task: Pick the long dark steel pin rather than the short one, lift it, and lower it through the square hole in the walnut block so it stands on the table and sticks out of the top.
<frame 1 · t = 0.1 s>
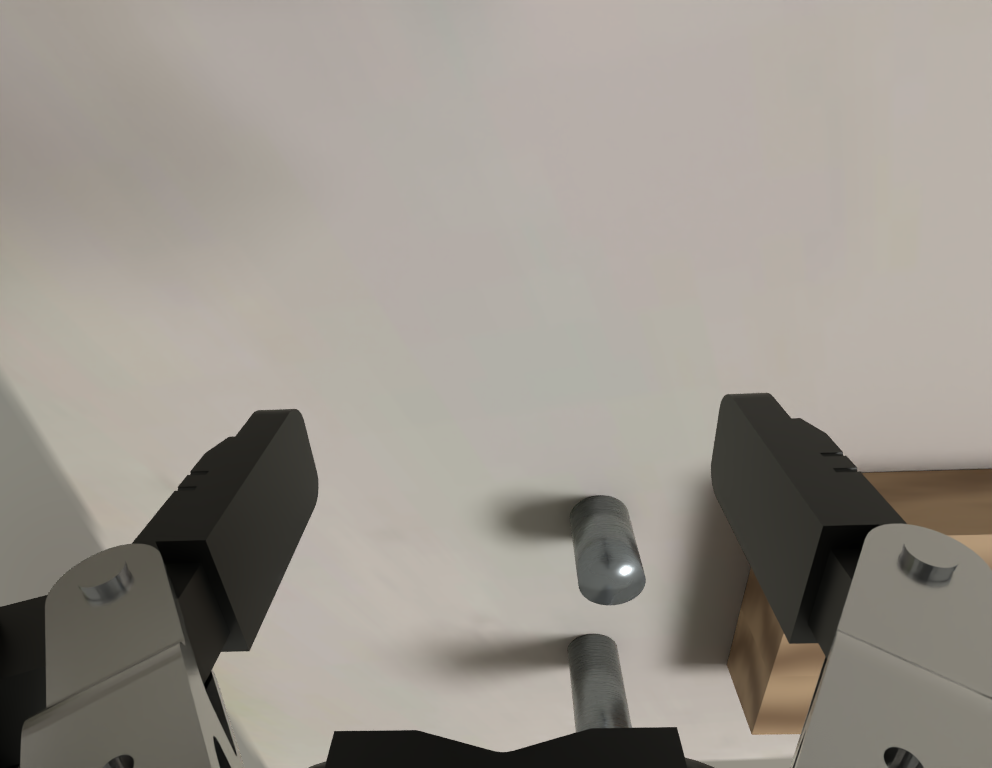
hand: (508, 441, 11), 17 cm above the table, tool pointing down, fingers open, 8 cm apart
long pin: (592, 649, 42), on the table
short pin: (599, 517, 35), on the table
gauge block: (886, 578, 37), on the table
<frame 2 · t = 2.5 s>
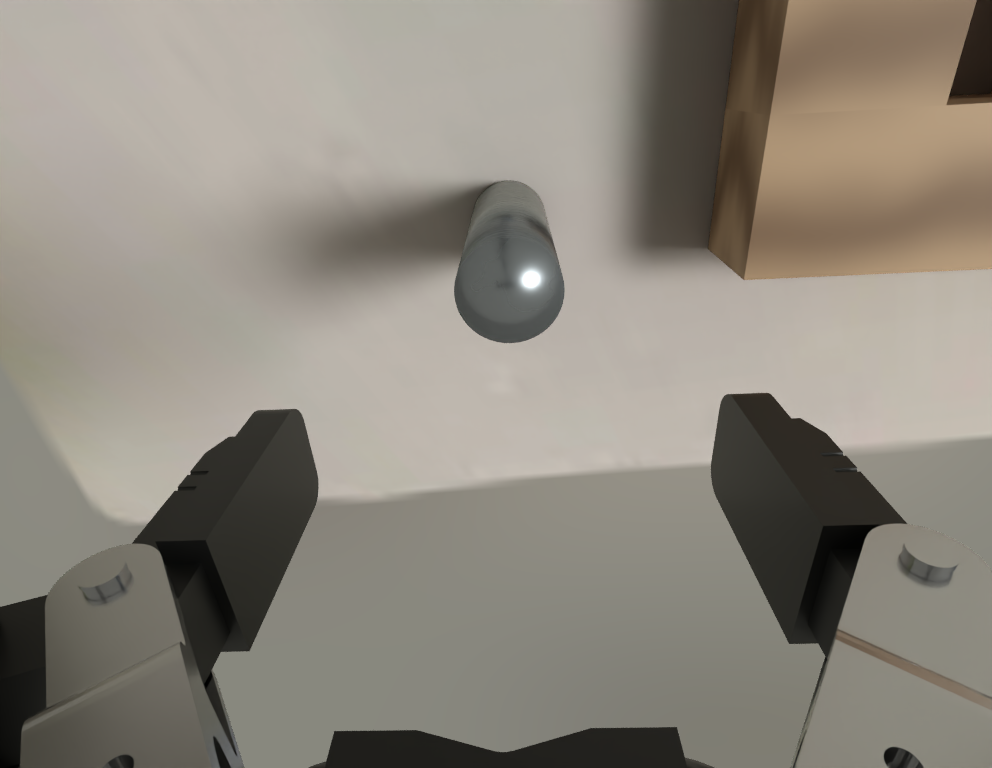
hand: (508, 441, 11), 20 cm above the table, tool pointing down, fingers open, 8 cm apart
long pin: (509, 218, 28), on the table
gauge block: (949, 28, 24), on the table
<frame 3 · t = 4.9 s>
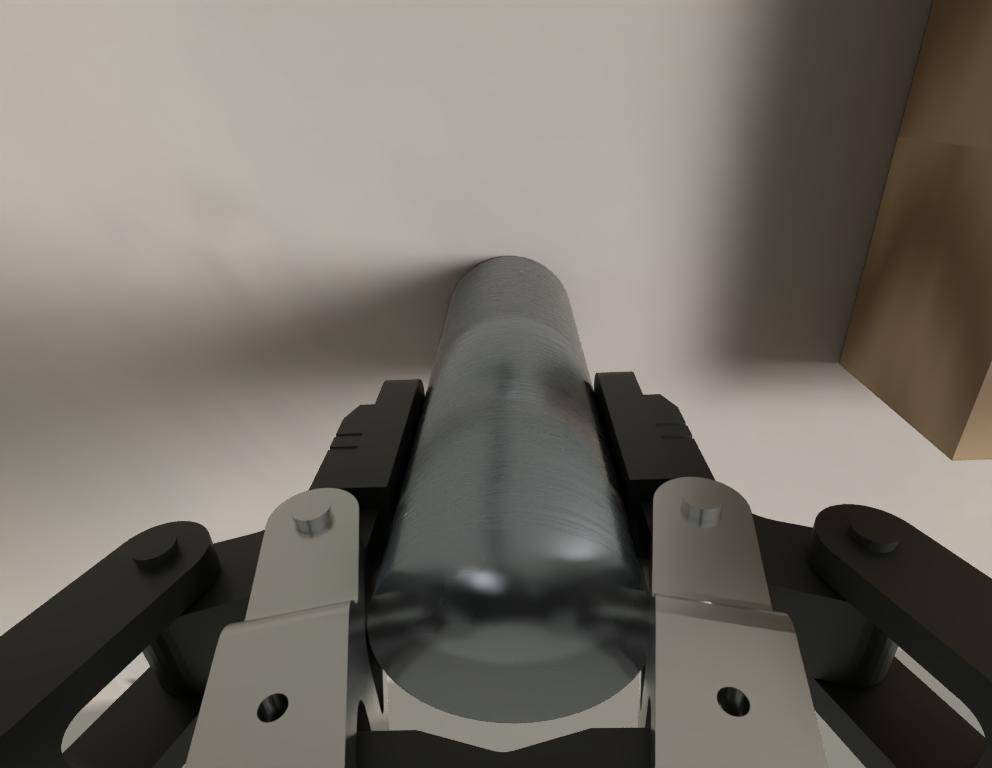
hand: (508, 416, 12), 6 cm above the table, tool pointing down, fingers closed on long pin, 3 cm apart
long pin: (509, 315, 17), on the table, touching gripper
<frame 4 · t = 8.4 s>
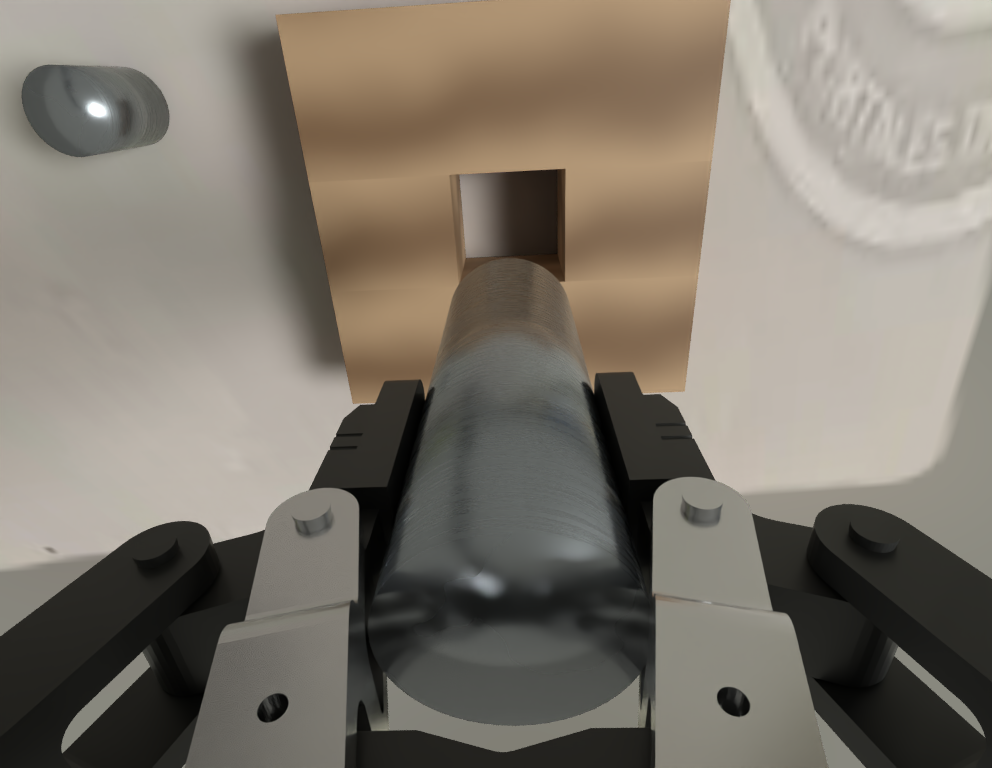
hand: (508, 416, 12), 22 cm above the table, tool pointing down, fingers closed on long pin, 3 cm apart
long pin: (509, 317, 17), point 16 cm above the table, touching gripper
short pin: (133, 107, 29), on the table
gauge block: (509, 209, 31), on the table
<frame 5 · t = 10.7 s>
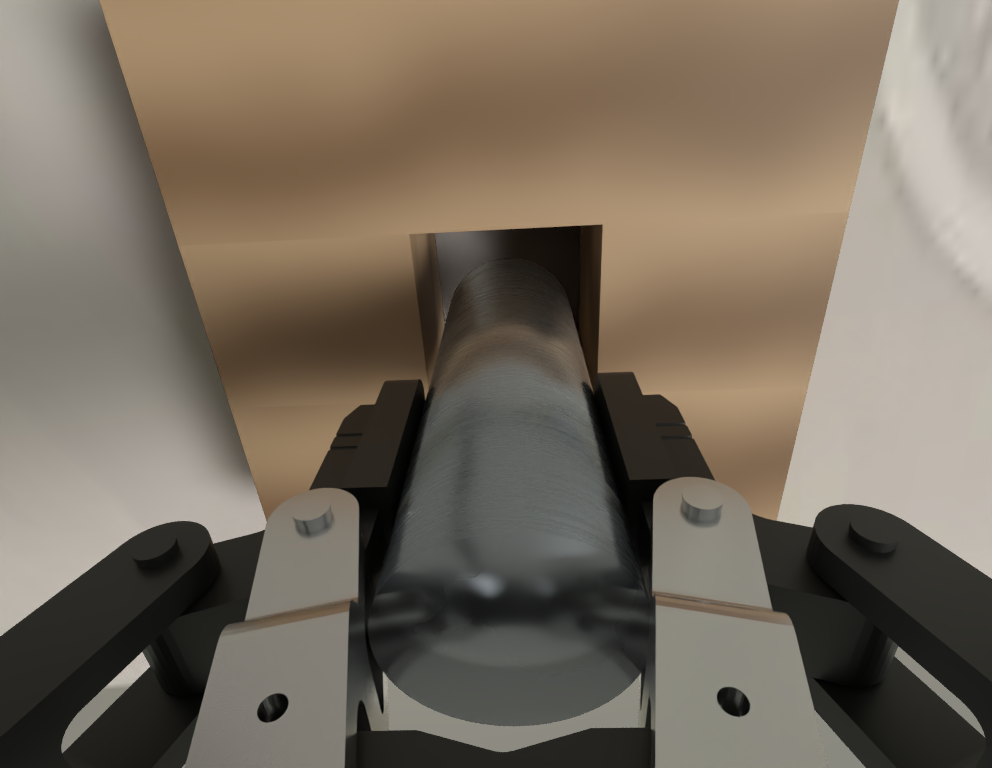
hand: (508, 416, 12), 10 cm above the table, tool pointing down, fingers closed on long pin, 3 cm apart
long pin: (509, 317, 17), point 5 cm above the table, touching gripper
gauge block: (509, 268, 21), on the table
when the fingers open (7 cm above the table, at t = 12.4 s): long pin drops 1 cm, resting in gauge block.
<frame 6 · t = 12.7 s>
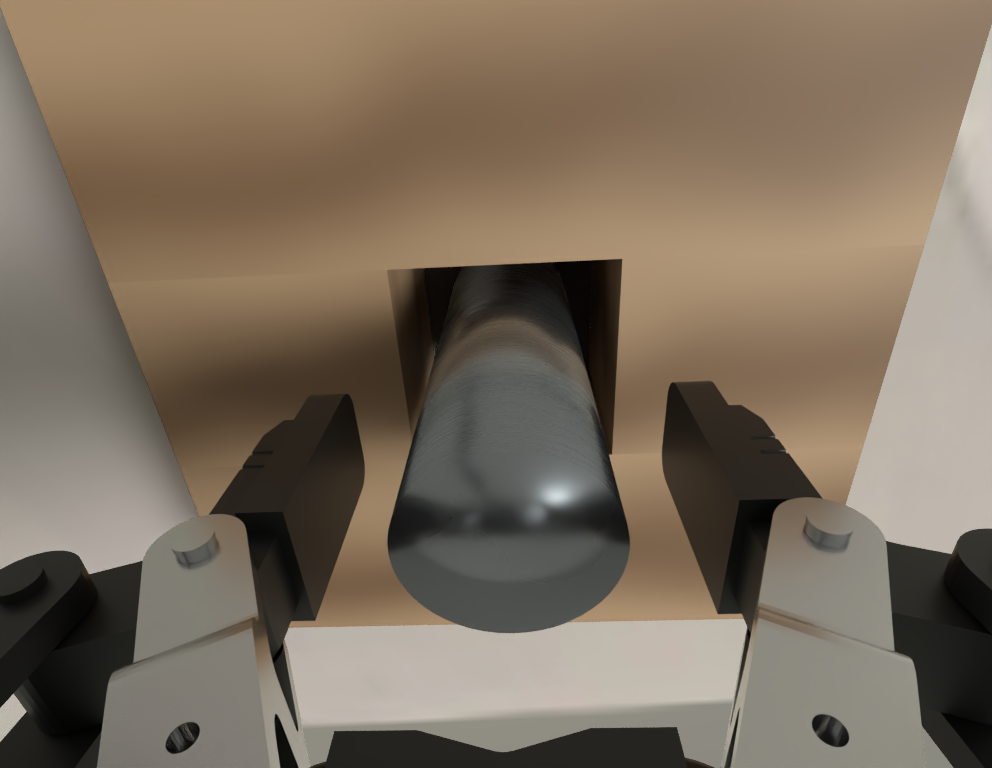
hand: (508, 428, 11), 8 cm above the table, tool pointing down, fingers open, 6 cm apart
long pin: (508, 299, 18), resting in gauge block
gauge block: (508, 299, 18), on the table
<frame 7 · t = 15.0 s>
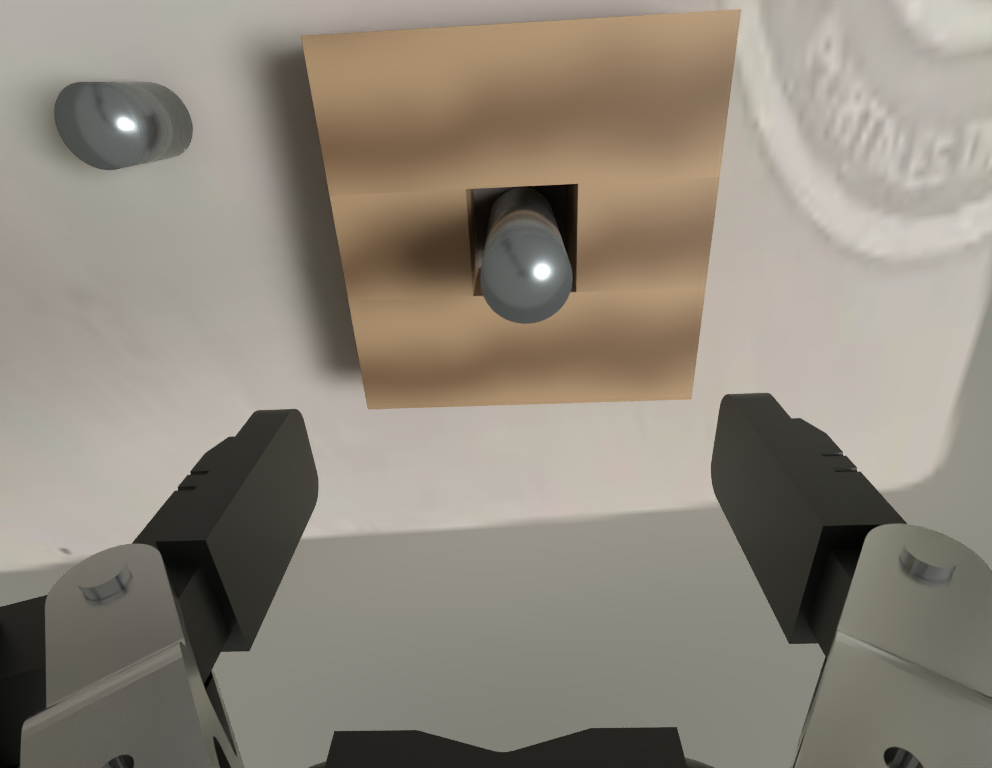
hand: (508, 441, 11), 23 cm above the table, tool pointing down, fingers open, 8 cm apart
long pin: (521, 221, 32), resting in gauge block
short pin: (157, 121, 30), on the table
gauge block: (521, 220, 32), on the table
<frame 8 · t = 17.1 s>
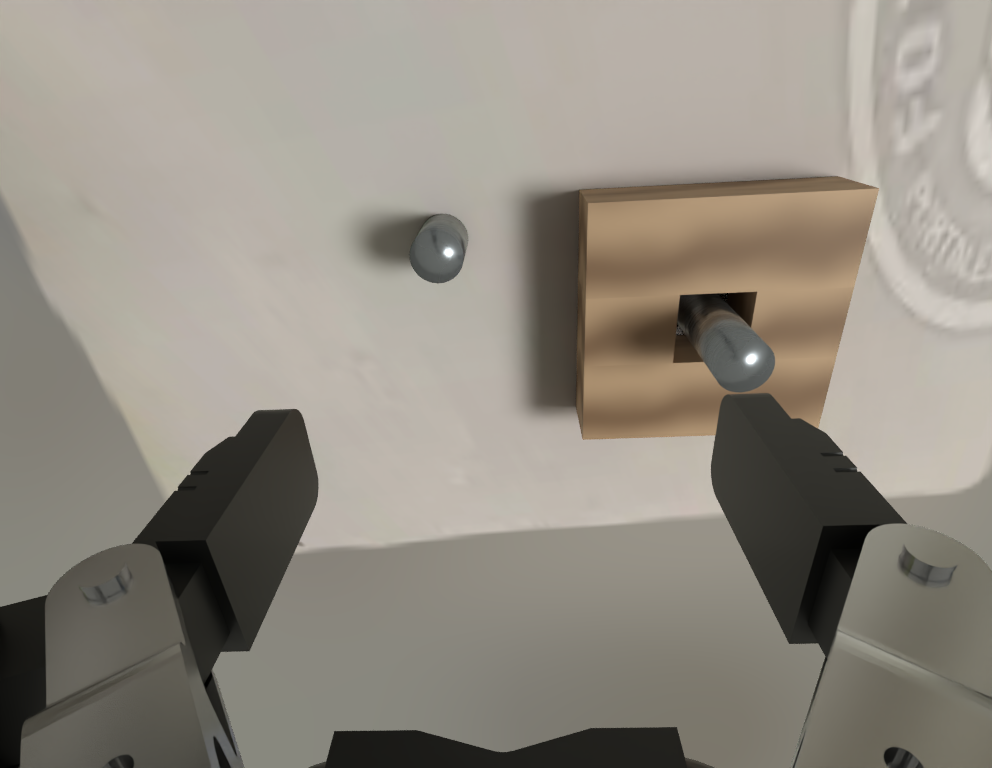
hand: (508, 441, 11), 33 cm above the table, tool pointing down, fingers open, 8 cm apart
long pin: (693, 303, 44), resting in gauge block
short pin: (444, 238, 42), on the table
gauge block: (693, 303, 44), on the table
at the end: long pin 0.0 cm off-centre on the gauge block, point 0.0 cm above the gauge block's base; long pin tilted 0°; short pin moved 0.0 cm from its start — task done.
